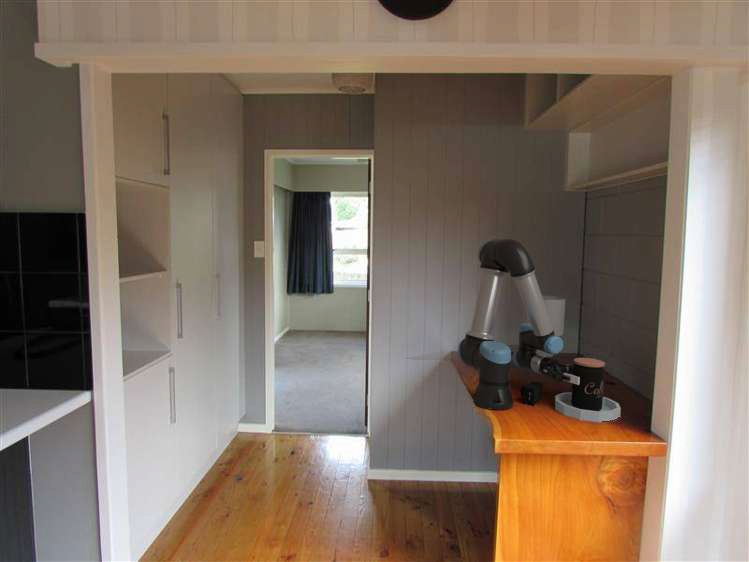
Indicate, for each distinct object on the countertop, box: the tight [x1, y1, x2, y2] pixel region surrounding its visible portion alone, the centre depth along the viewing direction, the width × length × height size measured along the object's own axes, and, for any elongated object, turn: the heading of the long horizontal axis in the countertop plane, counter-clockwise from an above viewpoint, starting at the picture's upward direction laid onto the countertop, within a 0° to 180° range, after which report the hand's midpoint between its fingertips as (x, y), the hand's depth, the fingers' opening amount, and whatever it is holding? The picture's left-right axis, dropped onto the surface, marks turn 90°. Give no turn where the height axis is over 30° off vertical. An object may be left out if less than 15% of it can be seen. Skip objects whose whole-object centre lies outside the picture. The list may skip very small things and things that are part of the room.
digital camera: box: [519, 380, 544, 407], centre depth 185 cm, size 10×5×7 cm, turn 143°
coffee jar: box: [571, 357, 606, 411], centre depth 175 cm, size 11×11×18 cm
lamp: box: [522, 295, 566, 358], centre depth 241 cm, size 20×20×35 cm
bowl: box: [554, 391, 622, 423], centre depth 176 cm, size 22×22×4 cm
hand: (591, 378), depth 174 cm, fingers open, 13 cm apart
